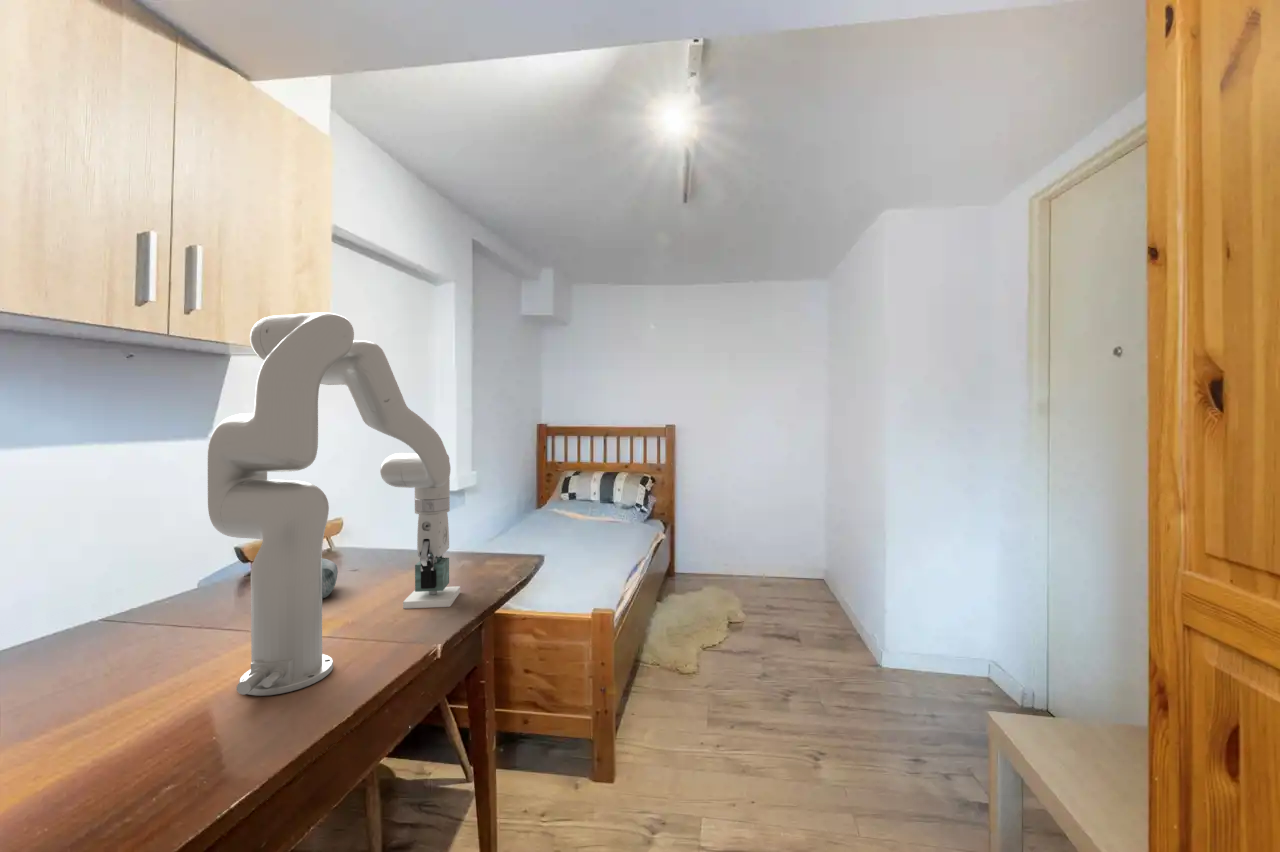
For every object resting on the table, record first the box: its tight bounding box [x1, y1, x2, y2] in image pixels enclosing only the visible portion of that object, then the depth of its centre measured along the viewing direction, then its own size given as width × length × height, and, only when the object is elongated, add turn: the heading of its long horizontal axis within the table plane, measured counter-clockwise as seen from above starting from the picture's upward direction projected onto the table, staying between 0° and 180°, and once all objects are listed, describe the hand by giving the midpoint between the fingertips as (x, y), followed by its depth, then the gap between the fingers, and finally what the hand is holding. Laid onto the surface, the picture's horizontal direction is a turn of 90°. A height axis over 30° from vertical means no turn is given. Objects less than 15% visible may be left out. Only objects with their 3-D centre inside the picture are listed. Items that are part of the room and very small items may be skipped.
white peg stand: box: [402, 559, 461, 610], centre depth 123 cm, size 10×10×10 cm
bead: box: [414, 557, 450, 592], centre depth 123 cm, size 6×6×6 cm
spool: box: [322, 557, 339, 600], centre depth 127 cm, size 14×10×10 cm
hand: (432, 582), depth 123 cm, fingers closed on bead, 5 cm apart
